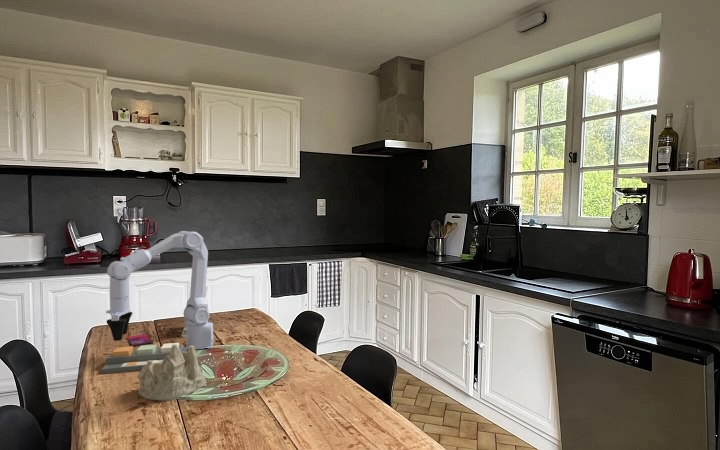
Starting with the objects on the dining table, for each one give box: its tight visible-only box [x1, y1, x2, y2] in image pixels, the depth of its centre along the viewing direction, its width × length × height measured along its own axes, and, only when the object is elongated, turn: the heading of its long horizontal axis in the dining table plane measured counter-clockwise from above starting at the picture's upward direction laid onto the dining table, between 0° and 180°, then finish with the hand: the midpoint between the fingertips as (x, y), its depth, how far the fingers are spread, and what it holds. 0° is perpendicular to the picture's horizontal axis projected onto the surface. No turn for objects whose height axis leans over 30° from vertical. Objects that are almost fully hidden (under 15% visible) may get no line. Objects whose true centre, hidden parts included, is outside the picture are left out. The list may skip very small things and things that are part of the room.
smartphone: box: [126, 333, 154, 348], centre depth 175 cm, size 8×1×15 cm
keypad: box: [101, 344, 188, 375], centre depth 150 cm, size 23×16×4 cm
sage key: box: [136, 343, 157, 355], centre depth 150 cm, size 5×5×2 cm
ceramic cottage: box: [136, 344, 208, 402], centre depth 128 cm, size 16×16×15 cm
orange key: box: [111, 345, 134, 357], centre depth 149 cm, size 5×5×2 cm
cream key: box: [160, 342, 180, 353], centre depth 152 cm, size 5×5×2 cm
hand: (120, 337), depth 147 cm, fingers open, 7 cm apart
